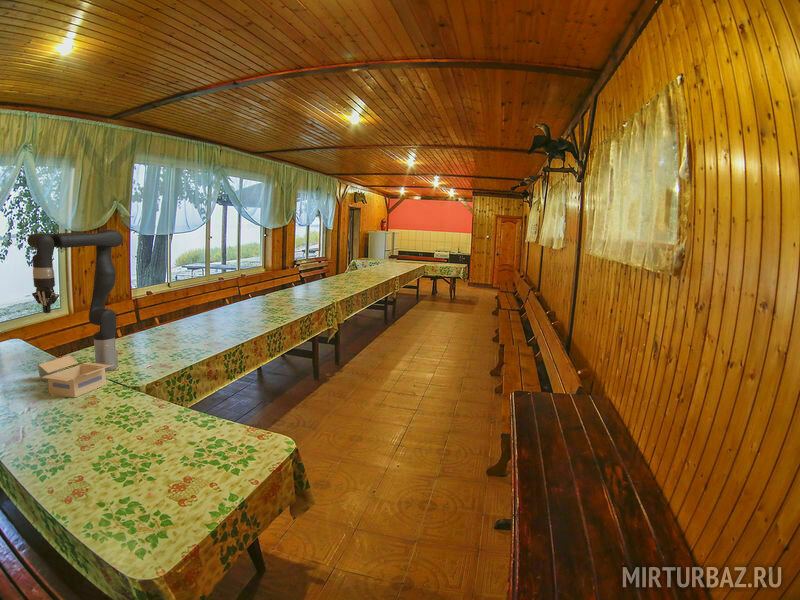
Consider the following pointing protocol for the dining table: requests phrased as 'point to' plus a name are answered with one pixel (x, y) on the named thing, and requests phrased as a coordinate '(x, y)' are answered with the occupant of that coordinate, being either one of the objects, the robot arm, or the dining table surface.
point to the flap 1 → (58, 364)
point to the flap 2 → (94, 371)
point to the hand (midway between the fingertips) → (47, 312)
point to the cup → (44, 373)
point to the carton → (76, 380)
